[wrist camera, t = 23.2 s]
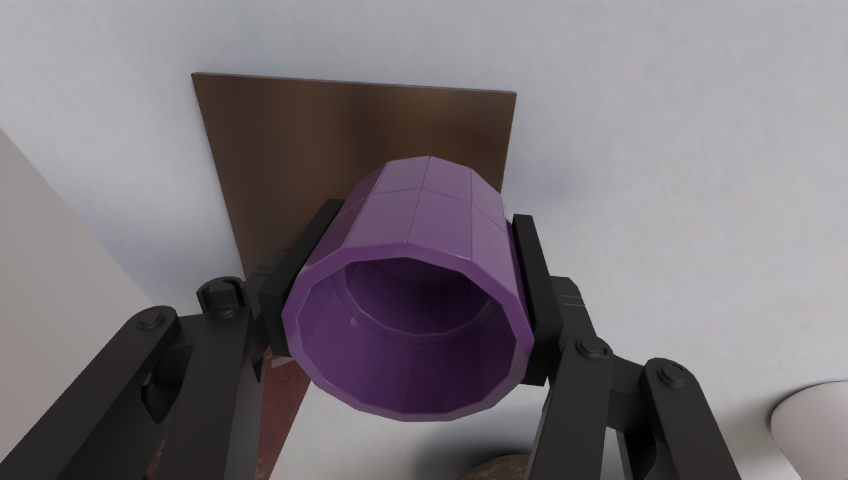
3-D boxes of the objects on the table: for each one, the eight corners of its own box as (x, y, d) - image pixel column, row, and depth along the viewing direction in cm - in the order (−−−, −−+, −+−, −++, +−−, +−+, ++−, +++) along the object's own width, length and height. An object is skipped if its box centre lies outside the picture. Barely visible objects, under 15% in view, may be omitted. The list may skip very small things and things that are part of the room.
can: (247, 283, 29) (91, 476, 17) (301, 243, 26) (163, 438, 14) (305, 331, 31) (203, 533, 19) (360, 299, 28) (282, 508, 16)
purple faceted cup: (352, 287, 19) (301, 409, 13) (341, 143, 15) (260, 228, 9) (496, 301, 19) (508, 435, 13) (523, 157, 15) (559, 254, 9)
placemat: (262, 326, 32) (259, 331, 31) (196, 71, 21) (190, 73, 21) (474, 348, 31) (474, 354, 30) (515, 91, 20) (517, 93, 20)
